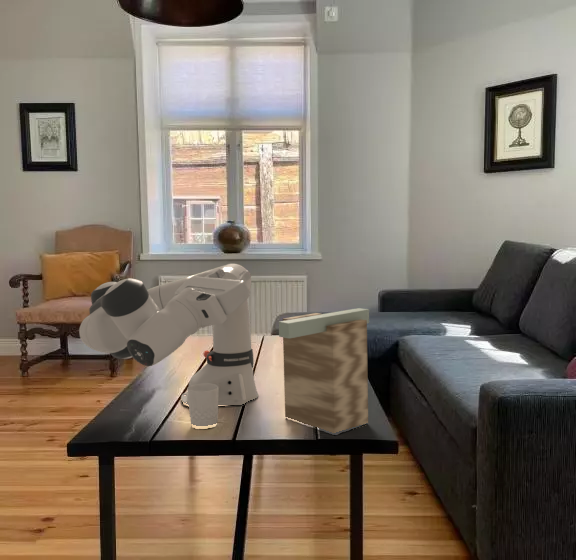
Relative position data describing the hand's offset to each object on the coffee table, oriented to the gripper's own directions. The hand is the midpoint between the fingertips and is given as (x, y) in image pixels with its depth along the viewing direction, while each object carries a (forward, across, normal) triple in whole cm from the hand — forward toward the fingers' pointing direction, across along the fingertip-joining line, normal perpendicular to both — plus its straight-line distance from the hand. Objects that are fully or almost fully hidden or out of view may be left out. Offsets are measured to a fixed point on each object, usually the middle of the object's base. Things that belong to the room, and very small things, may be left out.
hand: (235, 272), depth 142 cm
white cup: (-20, -15, -35) cm, 43 cm away
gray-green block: (+9, +10, -23) cm, 27 cm away
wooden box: (0, +6, -46) cm, 47 cm away
